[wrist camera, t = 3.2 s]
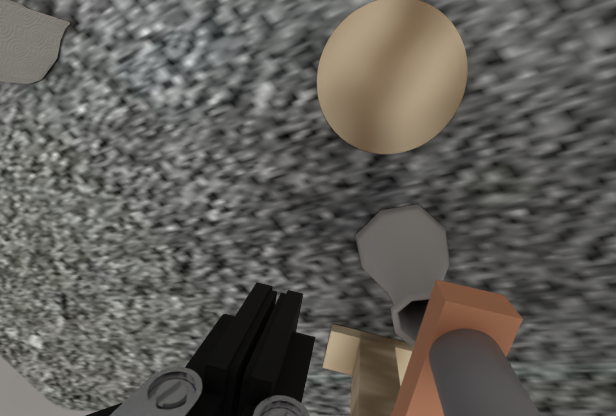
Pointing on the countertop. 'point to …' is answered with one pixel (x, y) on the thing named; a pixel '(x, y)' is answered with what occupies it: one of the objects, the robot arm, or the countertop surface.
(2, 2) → the paper towel roll
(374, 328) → the countertop surface
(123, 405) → the robot arm
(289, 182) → the countertop surface
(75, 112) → the countertop surface
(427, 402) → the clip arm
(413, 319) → the flask
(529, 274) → the countertop surface
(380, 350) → the post
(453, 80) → the coaster
